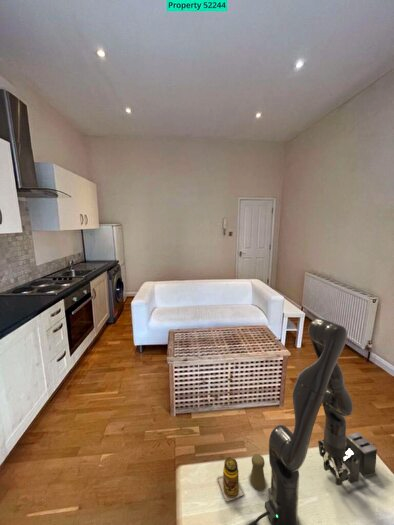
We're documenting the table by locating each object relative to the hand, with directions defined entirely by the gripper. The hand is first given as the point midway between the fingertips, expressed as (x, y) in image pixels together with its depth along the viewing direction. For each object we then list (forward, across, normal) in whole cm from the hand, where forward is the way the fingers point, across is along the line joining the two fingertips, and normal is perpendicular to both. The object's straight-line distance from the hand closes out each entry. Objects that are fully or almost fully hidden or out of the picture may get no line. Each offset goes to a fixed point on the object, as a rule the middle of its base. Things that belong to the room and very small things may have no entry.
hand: (332, 476), depth 89 cm
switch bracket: (+4, 0, +9) cm, 10 cm away
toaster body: (+4, -2, +18) cm, 18 cm away
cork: (+4, -9, -29) cm, 31 cm away
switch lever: (-4, 0, +5) cm, 7 cm away
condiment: (+4, -10, -41) cm, 43 cm away
